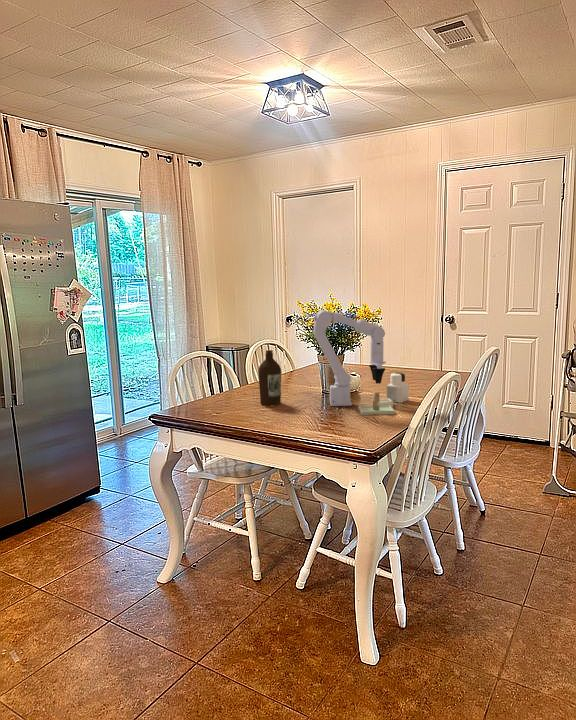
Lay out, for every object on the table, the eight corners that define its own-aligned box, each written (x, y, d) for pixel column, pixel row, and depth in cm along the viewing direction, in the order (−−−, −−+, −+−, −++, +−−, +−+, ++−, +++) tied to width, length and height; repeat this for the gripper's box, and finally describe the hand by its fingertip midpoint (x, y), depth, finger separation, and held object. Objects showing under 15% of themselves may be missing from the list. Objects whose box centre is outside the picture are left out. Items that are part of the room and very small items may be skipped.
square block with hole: (377, 408, 237) (377, 402, 237) (375, 404, 244) (375, 398, 243) (392, 407, 237) (392, 401, 237) (389, 404, 244) (389, 398, 243)
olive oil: (255, 403, 252) (253, 350, 248) (274, 399, 258) (272, 348, 254) (266, 407, 243) (265, 352, 239) (286, 404, 249) (285, 350, 245)
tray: (361, 414, 227) (361, 411, 226) (358, 409, 237) (358, 406, 236) (394, 414, 227) (394, 410, 227) (390, 408, 237) (390, 405, 236)
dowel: (373, 410, 230) (373, 393, 229) (372, 408, 233) (372, 392, 232) (379, 410, 230) (379, 393, 229) (379, 408, 233) (379, 391, 232)
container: (393, 398, 256) (393, 371, 254) (408, 400, 252) (409, 372, 250) (386, 401, 250) (386, 373, 248) (401, 403, 246) (401, 375, 244)
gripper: (388, 354, 237) (388, 384, 239) (382, 349, 251) (382, 378, 253) (372, 354, 237) (372, 384, 239) (367, 350, 251) (367, 378, 253)
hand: (376, 381), depth 246 cm, fingers open, 7 cm apart
